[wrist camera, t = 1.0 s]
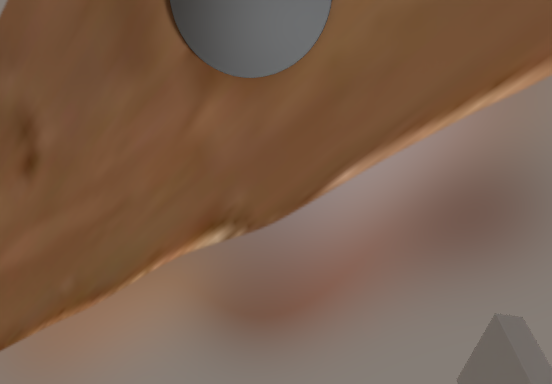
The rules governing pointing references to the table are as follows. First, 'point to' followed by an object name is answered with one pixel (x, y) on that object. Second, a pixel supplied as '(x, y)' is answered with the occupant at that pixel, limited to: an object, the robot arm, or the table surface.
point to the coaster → (250, 32)
